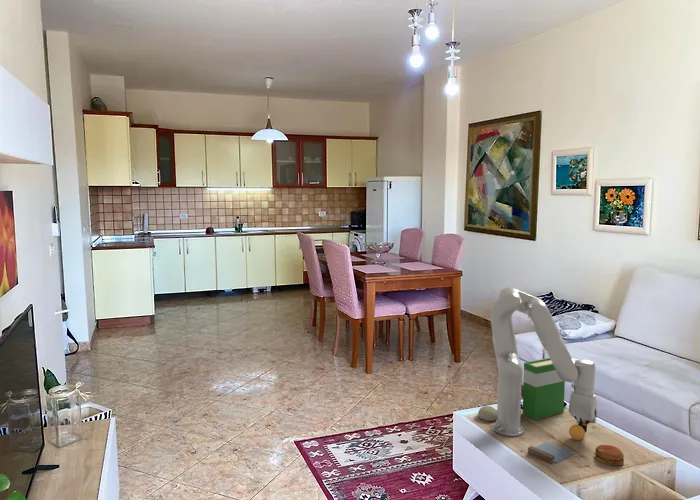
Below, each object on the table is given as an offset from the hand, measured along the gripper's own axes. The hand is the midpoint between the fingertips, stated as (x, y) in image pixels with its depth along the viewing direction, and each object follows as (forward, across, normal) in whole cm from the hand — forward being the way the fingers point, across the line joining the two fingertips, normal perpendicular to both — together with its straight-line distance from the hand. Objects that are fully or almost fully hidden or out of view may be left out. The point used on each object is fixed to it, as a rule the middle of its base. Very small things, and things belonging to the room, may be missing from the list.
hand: (582, 432), depth 212 cm
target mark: (+1, 0, -22) cm, 22 cm away
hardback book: (+2, -23, +8) cm, 24 cm away
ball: (-2, 0, -5) cm, 5 cm away
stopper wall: (+1, -1, -29) cm, 29 cm away
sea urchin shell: (+2, -35, -15) cm, 39 cm away
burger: (+2, +16, -11) cm, 19 cm away
